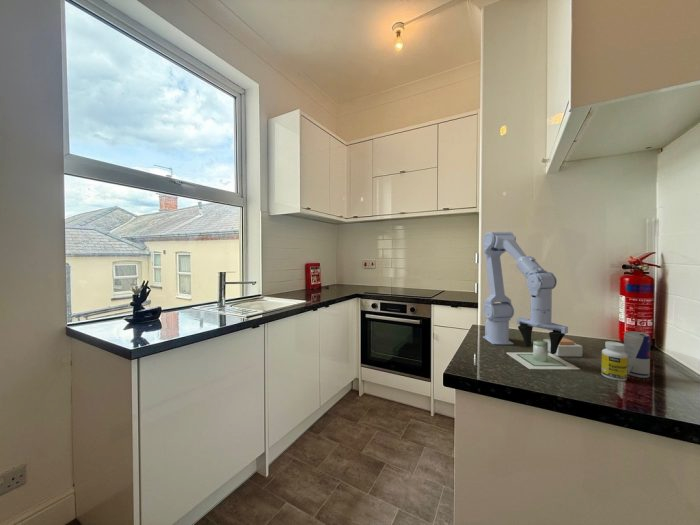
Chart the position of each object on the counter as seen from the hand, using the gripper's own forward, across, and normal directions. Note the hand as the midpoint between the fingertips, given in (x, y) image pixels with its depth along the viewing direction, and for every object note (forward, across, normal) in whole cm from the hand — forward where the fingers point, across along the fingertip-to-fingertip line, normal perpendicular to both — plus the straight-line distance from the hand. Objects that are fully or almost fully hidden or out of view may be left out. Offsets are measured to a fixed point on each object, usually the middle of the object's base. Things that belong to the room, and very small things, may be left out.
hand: (540, 349), depth 92 cm
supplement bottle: (+4, +17, +4) cm, 18 cm away
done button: (+1, 0, +15) cm, 15 cm away
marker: (+3, 0, 0) cm, 3 cm away
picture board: (+4, 0, 0) cm, 4 cm away
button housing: (+4, 0, +15) cm, 15 cm away
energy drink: (+4, +20, +12) cm, 24 cm away
